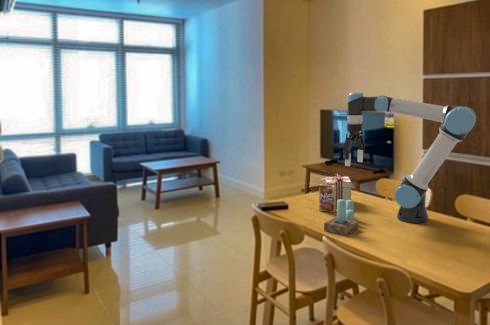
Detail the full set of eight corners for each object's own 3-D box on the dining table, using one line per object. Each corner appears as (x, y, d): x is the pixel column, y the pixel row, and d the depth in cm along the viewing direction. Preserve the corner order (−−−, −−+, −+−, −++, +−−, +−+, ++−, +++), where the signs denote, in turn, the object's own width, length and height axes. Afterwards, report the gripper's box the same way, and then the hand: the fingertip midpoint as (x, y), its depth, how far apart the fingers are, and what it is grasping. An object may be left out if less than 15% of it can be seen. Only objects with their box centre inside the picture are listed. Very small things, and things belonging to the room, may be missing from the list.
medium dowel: (354, 218, 223) (354, 200, 221) (351, 220, 220) (351, 202, 218) (347, 217, 225) (348, 199, 224) (344, 219, 222) (344, 201, 221)
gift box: (318, 200, 262) (318, 173, 259) (347, 199, 261) (348, 172, 258) (322, 207, 245) (322, 179, 242) (353, 207, 244) (354, 178, 241)
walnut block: (357, 229, 206) (358, 221, 206) (346, 235, 198) (346, 227, 197) (336, 224, 214) (336, 216, 214) (324, 230, 206) (324, 222, 205)
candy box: (318, 211, 238) (318, 185, 236) (321, 209, 242) (321, 183, 239) (333, 212, 234) (334, 186, 231) (336, 210, 238) (336, 184, 235)
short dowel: (355, 223, 215) (355, 210, 214) (351, 225, 212) (351, 212, 211) (348, 222, 218) (348, 209, 216) (344, 224, 215) (344, 210, 213)
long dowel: (346, 229, 206) (347, 200, 204) (342, 231, 203) (343, 202, 201) (339, 227, 209) (339, 198, 206) (335, 230, 206) (335, 200, 203)
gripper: (359, 121, 226) (358, 159, 230) (336, 124, 208) (335, 166, 211) (372, 121, 221) (371, 161, 225) (349, 125, 203) (349, 168, 207)
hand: (354, 163), depth 218 cm, fingers open, 13 cm apart
